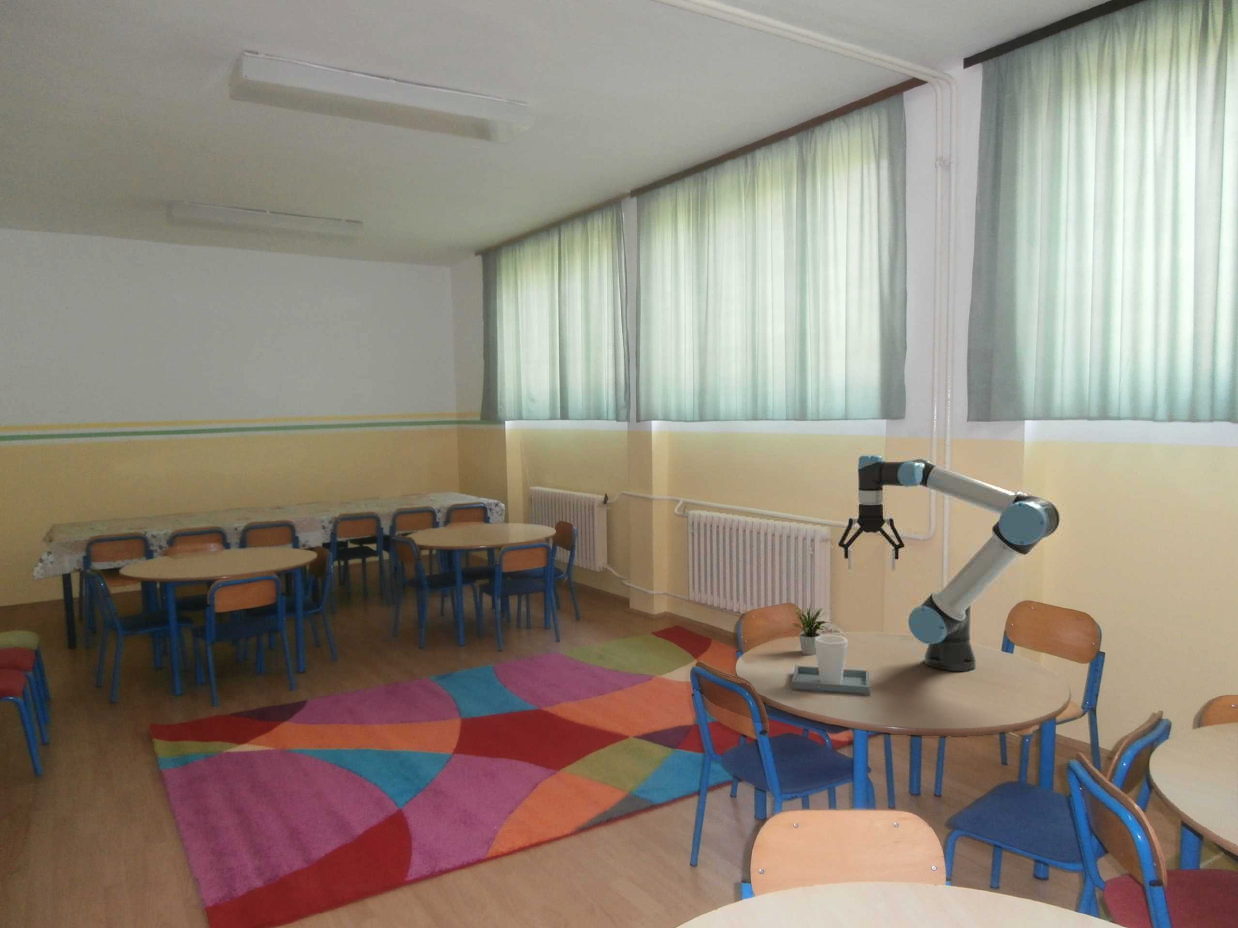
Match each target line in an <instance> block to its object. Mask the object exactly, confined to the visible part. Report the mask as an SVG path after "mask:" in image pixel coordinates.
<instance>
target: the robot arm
mask: <svg viewBox="0 0 1238 928" xmlns="http://www.w3.org/2000/svg"><path fill="white" fill-rule="evenodd" d="M857 465H858V467H857V471H858V472H857V473H858V474H857V475H858V476H857V477H858V495H857V496H858V497H857V498H858V517H857V518H853V517H849V519H848V523H847V526H846V528H845V530H844V531H843V533H842V535H841V538H840V539H839V541H838V547H840V548H842V549H843V555H844V557H843V558H844V559H847V570H852V569H851V564H852V562H851V557H852V556H851V554H852V553H851V551H852V550H851V545H852V544H853V543H854V542H855V541H856V540H857V538H859V536H861V534H862V533H863V532H864V533H873V534H874V533H875V534H876V533H878V532H879V533H880V534H881V535H882V536H883V537H884V538H885V539H886V540H887V541H888V543H889V544H890V545H891V546H892V547H893V548H891V569H892V571H895V570H896V560H899V554H900V553H899V550H900V549H902V548H905V544H904V542H903V539H902V538H901V536H900V534H899V532H898V530H897V529H896V527H895V521H894V519H893V518H892V517H889V518H886V519H885V518H884V504H883V502H884V490H883V489H884V486H891V487H892V486H893V487H906V488H909V487H917V486H919V485H920V486H922V487H925V488H928V489H930V490H933V491H934V492H935V491H936V492H939V493H941V494H944V495H946V496H949V497H952V498H955V499H957V500H960V501H962V502H965V503H968V504H970V505H973V506H975V507H978V508H981V509H984V510H987V511H989V512H992V513H994V514H998V515H1000V517H999V519H998V521H997V522H996V523H995V524H994V525H993V526H992V527H991V533H992V536H991V537H989V539H988V540H987V541H986V542H985V543H984V544H983V546H982V547H980V549H979V550H978V551H977V552H976V553H975V554H973V556H972V557H971V558H970V559H969V561H967V563H966V564H965V565H964V566H963V567H962V568H961V569H960V570H959V571H958V572H957V573H956V575H955V576H954V577H953V578H952V579H951V580H950V581H949V582H948V583H947V584H946V586H944V587H943V589H942V590H934V591H932V592H931V594H930V595H929V596H928V597H927V598H926V600H924V601H923V603H922V604H921V605H920V606H915V608H914V609H913V610H912V611H911V612H910V613H909V616H908V620H907V621H908V627H909V631H910V633H911V634H912V635H913V637H914V638H915V639H916V640H918V641H919V642H921V643H922V644H926V645H927V648H926V652H925V653H924V664H926V665H927V666H928V667H931V668H933V669H937V670H941V671H949V672H966V671H972V670H974V669H975V668H977V667H976V664H977V663H976V661H977V660H976V657H975V653H974V651H973V648H972V644H971V641H970V640H971V638H970V637H971V608H972V607H971V606H972V605H973V603H974V602H975V601H976V600H977V599H978V597H980V596H981V595H982V593H984V592H985V591H986V589H987V588H988V587H989V586H991V584H993V582H994V581H995V580H996V579H997V578H998V577H999V576H1000V575H1001V574H1002V573H1003V572H1004V571H1005V569H1007V567H1009V565H1010V564H1011V563H1012V562H1013V561H1014V560H1015V559H1016V558H1017V557H1018V556H1027V555H1028V554H1029V553H1030V552H1031V551H1032V550H1033V549H1034V548H1035V547H1036V545H1038V544H1039V543H1040V542H1041V540H1042V539H1044V538H1047V537H1049V536H1051V535H1052V534H1054V532H1056V530H1057V529H1058V527H1059V525H1060V520H1061V518H1060V513H1059V510H1058V509H1057V507H1056V506H1055V505H1054V504H1053V502H1051V501H1049V500H1048V499H1045V498H1042V497H1038V496H1036V495H1031V494H1029V493H1025V492H1022V491H1018V492H1015V493H1014V492H1013V491H1009V490H1006V489H1003V488H1001V487H998V486H995V485H992V484H989V483H987V482H983V481H980V480H978V479H975V478H972V477H970V476H966V475H963V474H960V473H959V472H955V471H952V470H949V469H946V468H944V467H940V466H938V465H936V464H935V465H934V464H933V463H932V462H931V461H929V460H927V459H922V458H917V459H916V458H915V459H913V460H907V461H905V460H904V461H884V459H883V456H882V455H880V454H879V455H877V454H870V455H869V454H867V455H866V454H865V455H864V454H863V455H861V456H859V457H858V464H857ZM856 523H857V524H858V525H859V526H858V529H856V531H855V532H854V533H853V535H851V537H849V539H848V541H846V540H847V538H848V535H849V533H850V531H851V529H852V527H853V526H855V524H856ZM885 524H887V526H889V527H890V529H891V531H892V533H893V535H894V536H895V538H896V540H897V542H895V540H893V539H892V537H891V536H890V535H889V534H888V533H887V532H886V530H884V528H883V526H884V525H885ZM845 541H846V542H845ZM897 543H898V544H897ZM973 668H974V669H973ZM971 669H972V670H971Z"/></svg>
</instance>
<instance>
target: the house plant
mask: <svg viewBox="0 0 1238 928" xmlns="http://www.w3.org/2000/svg"><path fill="white" fill-rule="evenodd" d="M811 606H812V604H810V605H809V608H806V615H807V616H806V615H805V614H804V612H803V610H802V609H801V608H799V610H800V611H801V612H800V611H799V610H798V609H796V610H794V611H793V613H794V614H795V615H796V617H797V618H798V619H799V620H800V622H801V624H802V626H801V625H800V624H798V623H795V622H794V623H792V624H791V626H792V627H793V628H800V629H801V630H802V632H799V634H798V636H799V642H800V648H801V653H802V654H803V655H808V656H813V655H814V656H815V655H817V654H816V647H815V637H817V636H821V633H818V630H820V631H822V632H824V629H826V630H827V631H828V627H827V626H825V625H823V624H826V623H828V624H829V622H828V621H824V620H819V621H818V619H820V618H821V617H822V615H820V614H821V612H822V610H823V608H824V607H822V608H817V609H815V611H813V613H811V608H812V607H811ZM789 611H791V612H792V610H791V609H789ZM825 614H827V612H824V615H825ZM823 628H824V629H823Z"/></svg>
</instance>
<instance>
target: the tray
mask: <svg viewBox="0 0 1238 928" xmlns="http://www.w3.org/2000/svg"><path fill="white" fill-rule="evenodd" d="M870 682H871V681H870V670H869V669H855V668H844V671H843V678H842V684H834V683H821V682H820V676H819V669H818V666H809V665H794V671H793V675H792V679H791V691H801V692H814V693H815V692H817V693H828V694H829V693H831V694H842V695H843V694H844V695H857V696H871V686H870V685H871V683H870Z"/></svg>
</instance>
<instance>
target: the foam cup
mask: <svg viewBox="0 0 1238 928" xmlns="http://www.w3.org/2000/svg"><path fill="white" fill-rule="evenodd" d="M815 647H816V654H815V655H816V661H817V667H818V669H819V676H820V682H821V683H834V684H842V678H843V671H844V669H845V661H846V656H847V655H846V654H847V649H848V639H847V638H846V637H843V636H840V635H834V634H825V635H824V634H823V635H820V636H817V637H815Z"/></svg>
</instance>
